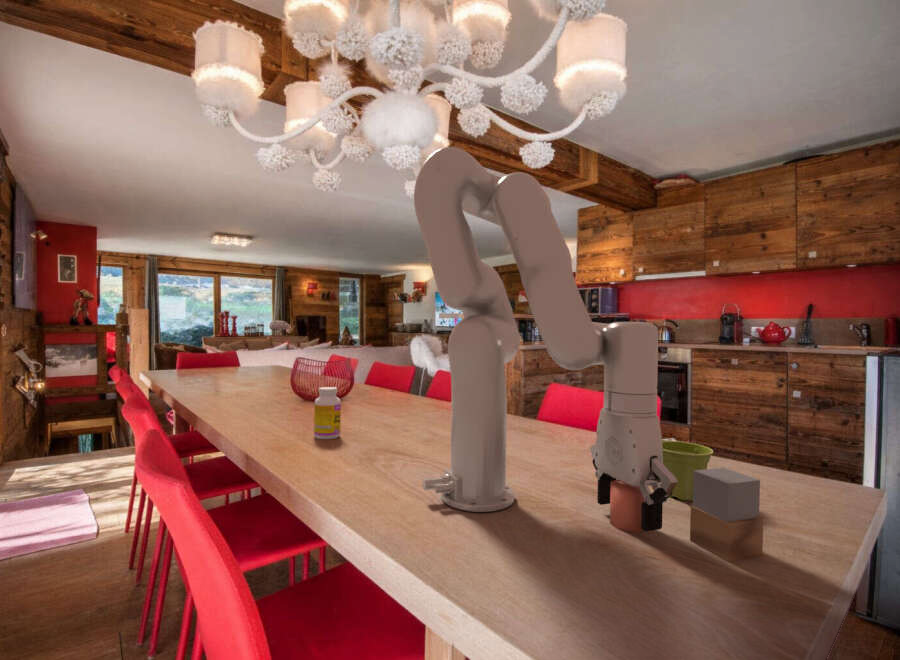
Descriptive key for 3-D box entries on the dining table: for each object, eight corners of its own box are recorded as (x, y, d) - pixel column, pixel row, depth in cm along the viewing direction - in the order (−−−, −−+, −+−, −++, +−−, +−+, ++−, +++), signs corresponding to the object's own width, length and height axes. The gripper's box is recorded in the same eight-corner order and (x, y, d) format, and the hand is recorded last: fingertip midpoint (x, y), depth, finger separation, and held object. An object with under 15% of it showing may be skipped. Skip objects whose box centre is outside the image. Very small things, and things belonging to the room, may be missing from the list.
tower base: (728, 562, 58) (729, 524, 58) (689, 541, 63) (690, 505, 63) (762, 555, 60) (763, 518, 59) (722, 535, 65) (722, 501, 65)
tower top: (727, 522, 58) (728, 483, 58) (692, 506, 63) (693, 470, 63) (759, 517, 60) (759, 480, 60) (722, 501, 65) (723, 467, 65)
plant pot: (645, 485, 86) (646, 439, 85) (695, 486, 85) (696, 440, 85) (667, 504, 76) (668, 453, 76) (723, 506, 76) (724, 455, 76)
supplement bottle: (336, 440, 114) (337, 390, 114) (310, 440, 114) (311, 389, 114) (343, 434, 121) (343, 386, 121) (318, 433, 121) (319, 386, 121)
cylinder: (625, 534, 65) (626, 492, 65) (602, 519, 70) (603, 481, 70) (652, 529, 67) (653, 489, 67) (629, 515, 71) (629, 478, 71)
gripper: (575, 395, 75) (573, 497, 75) (652, 415, 59) (650, 545, 59) (612, 393, 77) (610, 492, 78) (696, 412, 61) (694, 537, 61)
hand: (627, 515), depth 68 cm, fingers open, 9 cm apart
